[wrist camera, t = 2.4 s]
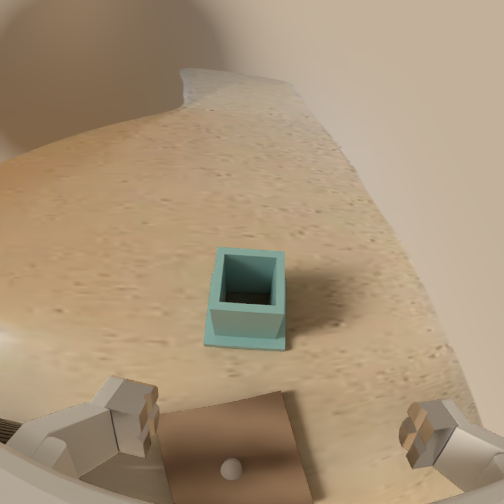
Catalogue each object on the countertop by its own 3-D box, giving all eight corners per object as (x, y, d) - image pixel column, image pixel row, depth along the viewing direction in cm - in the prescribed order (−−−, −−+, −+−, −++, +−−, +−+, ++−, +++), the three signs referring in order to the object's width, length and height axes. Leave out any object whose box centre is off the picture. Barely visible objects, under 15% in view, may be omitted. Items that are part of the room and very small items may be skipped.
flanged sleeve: (284, 351, 31) (296, 326, 25) (204, 346, 31) (195, 319, 25) (284, 281, 36) (295, 243, 29) (212, 276, 36) (207, 237, 29)
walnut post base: (310, 502, 23) (326, 515, 18) (185, 527, 21) (173, 545, 16) (278, 392, 29) (287, 382, 24) (157, 416, 27) (139, 410, 22)
